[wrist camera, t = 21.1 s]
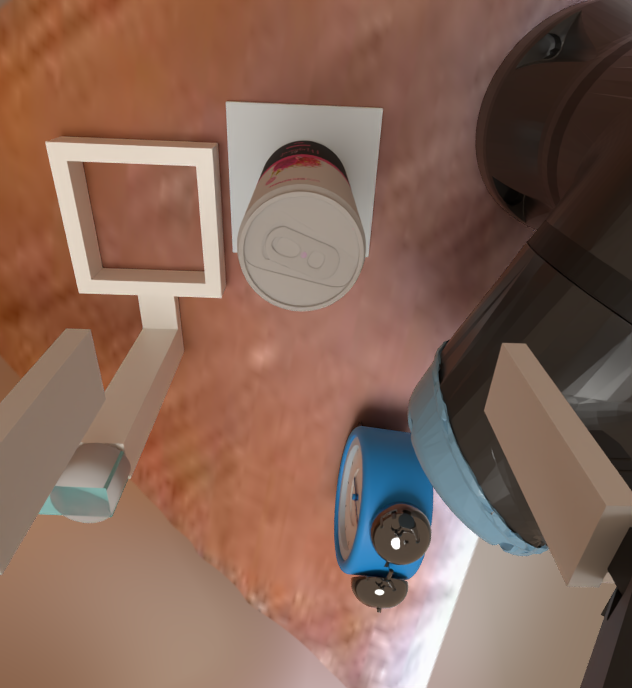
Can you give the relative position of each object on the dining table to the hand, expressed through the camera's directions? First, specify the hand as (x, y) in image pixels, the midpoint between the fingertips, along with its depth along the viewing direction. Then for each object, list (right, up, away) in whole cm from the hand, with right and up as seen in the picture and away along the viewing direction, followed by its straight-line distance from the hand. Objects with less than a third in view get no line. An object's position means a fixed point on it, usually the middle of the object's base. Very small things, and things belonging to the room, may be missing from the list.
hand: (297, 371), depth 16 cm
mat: (0, +13, +22) cm, 26 cm away
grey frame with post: (-13, +8, +25) cm, 29 cm away
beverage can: (0, +13, +21) cm, 25 cm away
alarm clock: (+7, -10, +36) cm, 38 cm away
